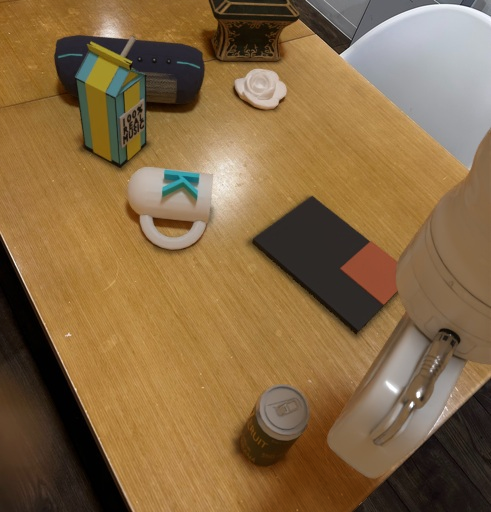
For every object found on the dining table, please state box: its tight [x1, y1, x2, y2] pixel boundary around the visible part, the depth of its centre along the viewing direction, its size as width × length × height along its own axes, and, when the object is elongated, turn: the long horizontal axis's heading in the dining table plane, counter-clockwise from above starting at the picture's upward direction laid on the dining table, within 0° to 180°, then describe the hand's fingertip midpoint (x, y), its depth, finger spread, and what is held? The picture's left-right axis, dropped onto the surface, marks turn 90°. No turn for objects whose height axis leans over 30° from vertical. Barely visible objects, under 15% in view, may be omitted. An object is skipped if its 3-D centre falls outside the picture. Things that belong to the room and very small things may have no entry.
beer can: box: [239, 383, 311, 468], centre depth 52 cm, size 5×5×12 cm
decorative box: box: [208, 0, 301, 62], centre depth 95 cm, size 20×10×20 cm, turn 103°
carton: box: [75, 35, 148, 169], centre depth 74 cm, size 7×8×18 cm
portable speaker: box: [53, 34, 206, 105], centre depth 85 cm, size 25×10×10 cm, turn 96°
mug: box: [126, 166, 214, 251], centre depth 71 cm, size 12×9×12 cm
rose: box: [233, 68, 288, 111], centre depth 93 cm, size 10×4×10 cm
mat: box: [251, 195, 398, 334], centre depth 74 cm, size 20×14×1 cm
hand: (386, 375), depth 39 cm, fingers open, 8 cm apart
